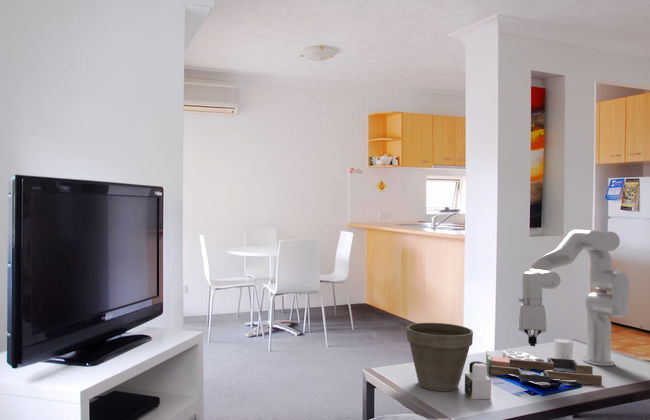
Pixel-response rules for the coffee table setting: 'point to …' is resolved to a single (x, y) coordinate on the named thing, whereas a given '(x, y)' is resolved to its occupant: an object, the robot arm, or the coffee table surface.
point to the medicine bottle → (478, 382)
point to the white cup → (563, 348)
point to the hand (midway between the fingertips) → (532, 345)
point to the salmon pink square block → (500, 361)
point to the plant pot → (439, 353)
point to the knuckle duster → (520, 356)
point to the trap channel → (577, 371)
